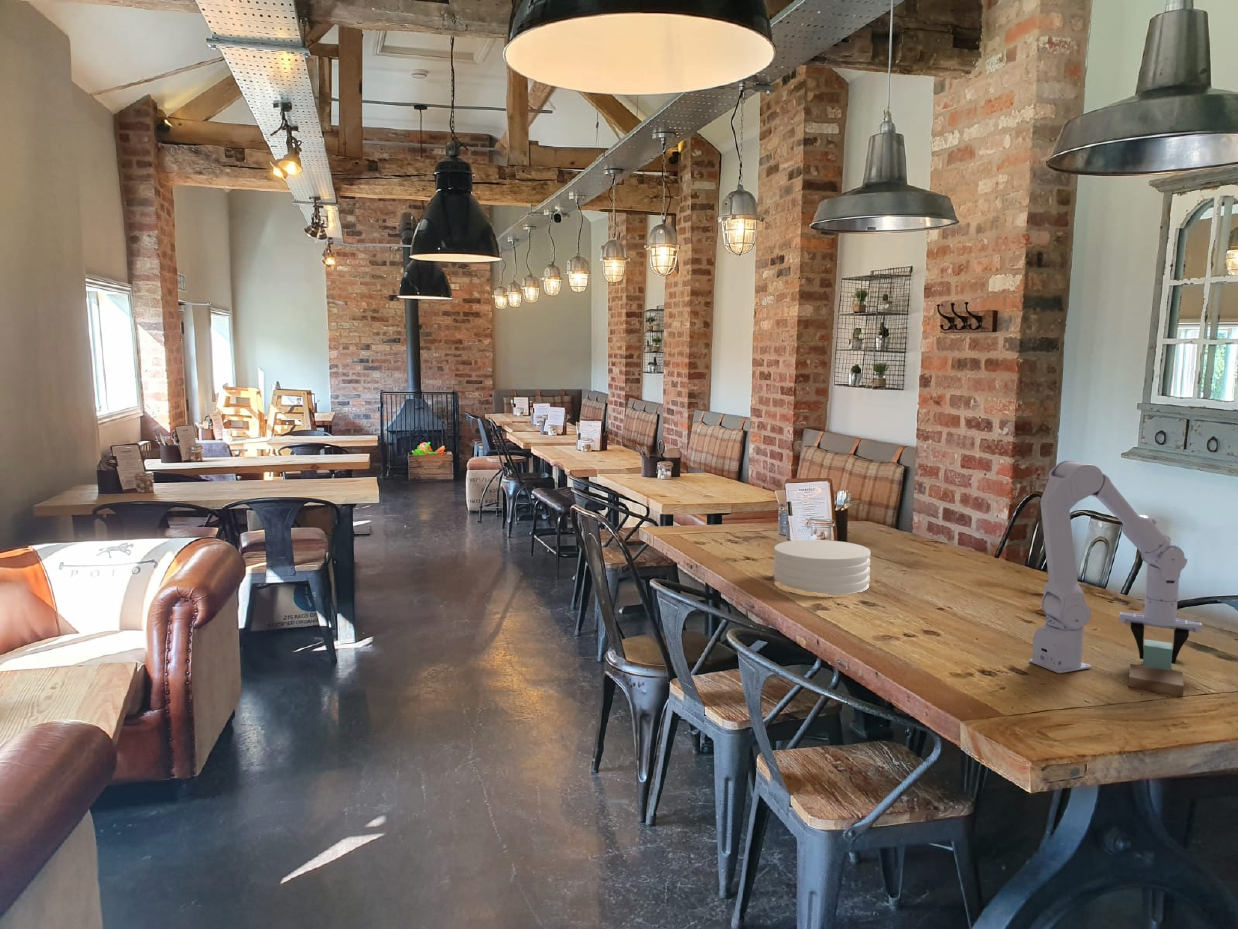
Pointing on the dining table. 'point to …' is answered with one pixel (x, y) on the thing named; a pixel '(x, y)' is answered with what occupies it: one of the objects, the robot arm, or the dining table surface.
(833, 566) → the plate stack
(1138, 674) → the walnut base
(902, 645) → the dining table surface
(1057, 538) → the robot arm
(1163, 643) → the teal cube
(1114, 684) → the dining table surface
